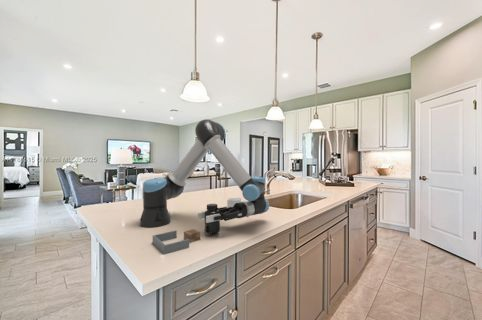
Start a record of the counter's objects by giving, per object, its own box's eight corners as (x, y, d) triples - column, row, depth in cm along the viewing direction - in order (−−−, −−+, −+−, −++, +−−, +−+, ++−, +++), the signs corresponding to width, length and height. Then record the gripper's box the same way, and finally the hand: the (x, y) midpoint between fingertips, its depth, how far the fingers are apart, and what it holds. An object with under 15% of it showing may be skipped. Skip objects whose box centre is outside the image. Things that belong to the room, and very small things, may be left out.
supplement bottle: (212, 227, 104) (212, 202, 104) (223, 230, 99) (222, 204, 99) (201, 231, 98) (201, 205, 98) (212, 234, 94) (211, 207, 94)
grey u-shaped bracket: (175, 237, 96) (175, 230, 96) (189, 247, 85) (189, 239, 85) (152, 242, 90) (152, 235, 90) (163, 254, 79) (163, 246, 79)
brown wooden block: (194, 236, 97) (194, 228, 96) (200, 239, 93) (200, 231, 93) (184, 239, 93) (183, 231, 93) (190, 243, 89) (190, 234, 89)
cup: (226, 214, 133) (226, 197, 133) (245, 213, 136) (245, 196, 136) (228, 218, 125) (228, 200, 125) (248, 216, 128) (248, 199, 128)
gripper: (256, 221, 102) (214, 232, 88) (231, 213, 118) (192, 221, 104) (256, 205, 102) (213, 213, 88) (231, 199, 118) (192, 205, 104)
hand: (202, 217), depth 96 cm, fingers closed on supplement bottle, 7 cm apart
